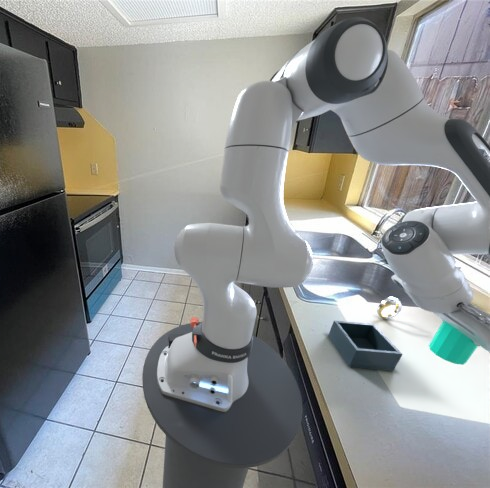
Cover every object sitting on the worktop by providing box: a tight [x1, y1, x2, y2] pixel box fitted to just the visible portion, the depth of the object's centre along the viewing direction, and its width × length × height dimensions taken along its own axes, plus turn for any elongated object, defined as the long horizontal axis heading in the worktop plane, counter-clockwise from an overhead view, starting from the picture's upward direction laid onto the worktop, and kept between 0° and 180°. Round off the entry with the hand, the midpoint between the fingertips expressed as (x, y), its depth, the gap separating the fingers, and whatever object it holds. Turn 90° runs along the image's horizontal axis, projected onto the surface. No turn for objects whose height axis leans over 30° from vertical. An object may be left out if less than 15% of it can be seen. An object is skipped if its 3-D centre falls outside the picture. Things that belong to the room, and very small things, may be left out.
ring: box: [376, 296, 403, 320], centre depth 84 cm, size 7×3×8 cm, turn 88°
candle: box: [428, 321, 478, 365], centre depth 55 cm, size 6×6×12 cm
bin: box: [327, 320, 403, 372], centre depth 71 cm, size 11×11×6 cm
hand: (463, 331), depth 55 cm, fingers closed on candle, 5 cm apart
